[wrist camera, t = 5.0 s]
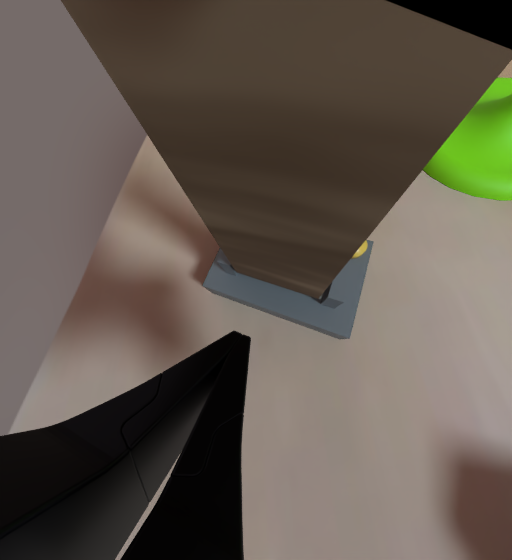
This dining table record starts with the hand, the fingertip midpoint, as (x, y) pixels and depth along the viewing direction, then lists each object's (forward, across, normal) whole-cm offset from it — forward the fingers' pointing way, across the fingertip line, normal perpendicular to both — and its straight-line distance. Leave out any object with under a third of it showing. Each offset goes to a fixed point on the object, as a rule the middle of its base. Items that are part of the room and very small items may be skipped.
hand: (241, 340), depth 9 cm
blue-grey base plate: (+11, 0, +2) cm, 11 cm away
